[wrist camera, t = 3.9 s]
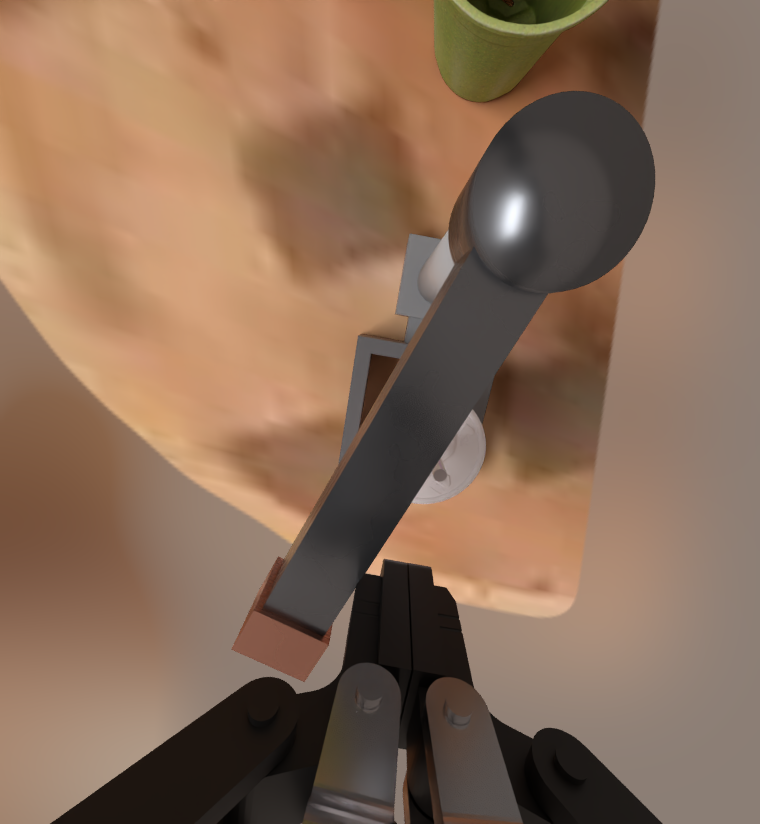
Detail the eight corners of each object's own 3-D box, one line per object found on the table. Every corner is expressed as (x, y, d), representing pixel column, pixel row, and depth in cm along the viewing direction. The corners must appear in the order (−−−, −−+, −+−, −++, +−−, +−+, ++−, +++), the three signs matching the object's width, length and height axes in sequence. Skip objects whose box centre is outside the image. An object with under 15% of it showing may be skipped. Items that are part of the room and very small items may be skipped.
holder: (376, 234, 25) (362, 102, 10) (509, 258, 25) (698, 167, 10) (342, 452, 29) (295, 599, 14) (458, 471, 29) (536, 637, 14)
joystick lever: (495, 130, 10) (542, 49, 7) (604, 205, 10) (693, 157, 7) (246, 577, 13) (207, 650, 10) (334, 618, 14) (320, 700, 11)
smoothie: (464, 375, 27) (541, 432, 14) (440, 453, 29) (488, 572, 15) (381, 355, 27) (376, 392, 13) (362, 434, 29) (340, 539, 15)
